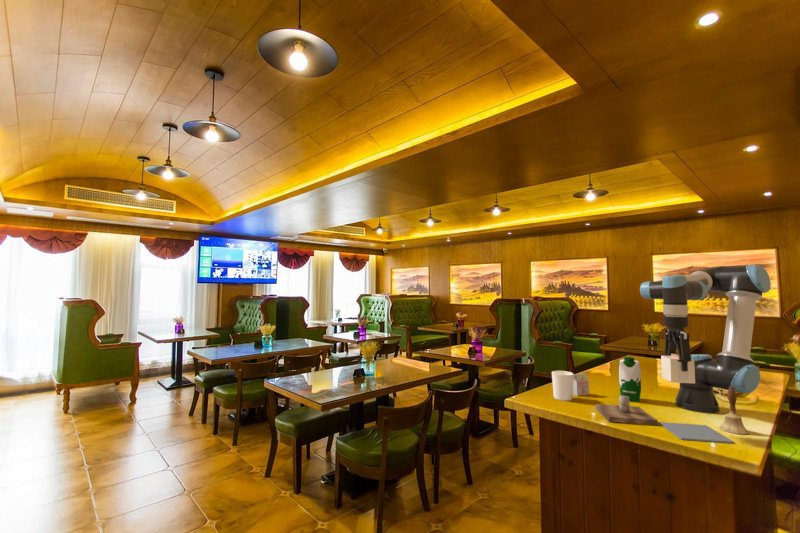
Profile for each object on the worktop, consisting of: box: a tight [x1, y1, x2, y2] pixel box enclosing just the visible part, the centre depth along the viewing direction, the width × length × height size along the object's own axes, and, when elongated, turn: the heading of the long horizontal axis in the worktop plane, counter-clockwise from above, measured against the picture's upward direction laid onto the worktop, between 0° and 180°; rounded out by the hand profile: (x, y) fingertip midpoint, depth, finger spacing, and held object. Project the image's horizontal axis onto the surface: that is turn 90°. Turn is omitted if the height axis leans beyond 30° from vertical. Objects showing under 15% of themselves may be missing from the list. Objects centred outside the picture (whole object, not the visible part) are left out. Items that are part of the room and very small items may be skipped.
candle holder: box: [551, 370, 574, 402], centre depth 179 cm, size 10×10×12 cm
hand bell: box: [719, 386, 750, 436], centre depth 139 cm, size 8×8×16 cm
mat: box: [658, 421, 735, 445], centre depth 136 cm, size 16×16×1 cm
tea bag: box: [573, 373, 590, 397], centre depth 185 cm, size 4×7×10 cm, turn 105°
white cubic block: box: [660, 353, 695, 384], centre depth 140 cm, size 8×8×9 cm
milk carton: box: [618, 356, 642, 403], centre depth 178 cm, size 9×9×20 cm
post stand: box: [595, 394, 659, 426], centre depth 153 cm, size 17×17×8 cm
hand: (678, 377), depth 140 cm, fingers closed on white cubic block, 8 cm apart
